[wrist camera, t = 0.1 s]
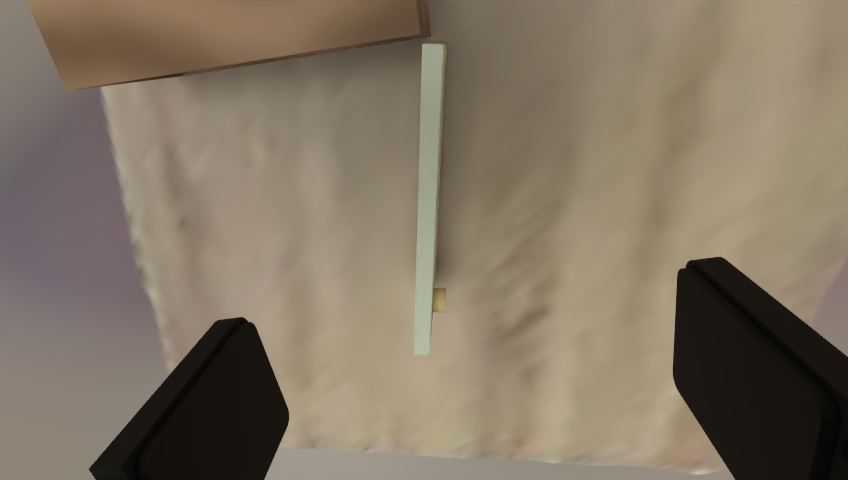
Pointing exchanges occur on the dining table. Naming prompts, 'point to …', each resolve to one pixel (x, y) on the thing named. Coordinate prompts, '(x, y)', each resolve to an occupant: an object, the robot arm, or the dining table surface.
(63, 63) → the wooden shelf
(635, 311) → the dining table surface
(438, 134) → the cabinet door
